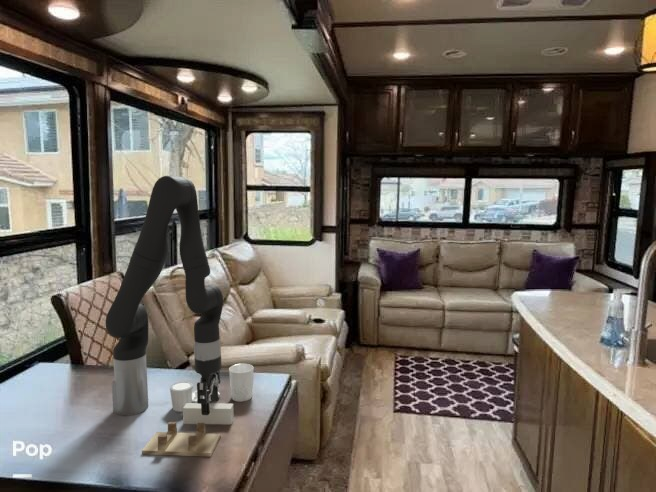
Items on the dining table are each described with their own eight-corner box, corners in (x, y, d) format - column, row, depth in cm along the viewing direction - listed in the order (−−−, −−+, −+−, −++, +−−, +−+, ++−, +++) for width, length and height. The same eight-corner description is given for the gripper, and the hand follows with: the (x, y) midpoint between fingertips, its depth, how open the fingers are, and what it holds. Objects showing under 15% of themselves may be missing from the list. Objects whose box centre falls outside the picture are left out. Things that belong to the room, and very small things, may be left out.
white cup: (231, 392, 153) (230, 363, 152) (254, 391, 153) (254, 363, 152) (228, 403, 145) (227, 373, 144) (252, 402, 146) (252, 372, 144)
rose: (215, 393, 143) (184, 392, 143) (215, 406, 143) (185, 405, 144) (223, 379, 153) (195, 379, 153) (223, 392, 153) (195, 391, 154)
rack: (142, 454, 117) (141, 437, 116) (156, 435, 126) (156, 419, 125) (210, 456, 116) (210, 440, 115) (220, 437, 125) (220, 422, 124)
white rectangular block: (183, 424, 132) (182, 408, 132) (187, 418, 135) (186, 402, 135) (231, 425, 132) (230, 408, 131) (233, 419, 135) (233, 403, 135)
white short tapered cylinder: (198, 404, 144) (197, 383, 143) (184, 414, 138) (183, 392, 137) (179, 400, 146) (179, 379, 146) (165, 410, 140) (165, 388, 139)
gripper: (202, 346, 138) (205, 396, 140) (186, 363, 124) (189, 419, 126) (227, 346, 138) (229, 396, 140) (213, 363, 124) (215, 419, 126)
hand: (210, 407), depth 133 cm, fingers open, 8 cm apart
